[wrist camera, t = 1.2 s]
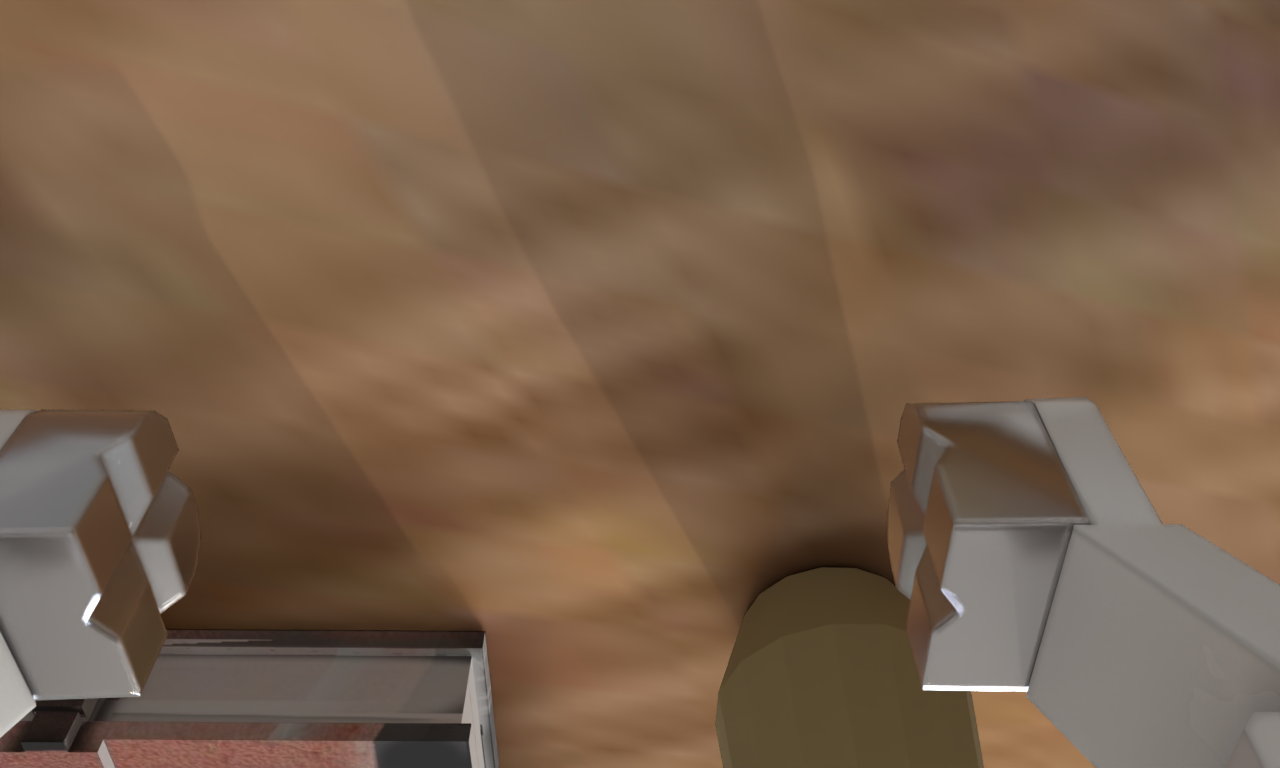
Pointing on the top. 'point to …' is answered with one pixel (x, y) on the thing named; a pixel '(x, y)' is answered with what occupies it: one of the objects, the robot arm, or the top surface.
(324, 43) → the top surface
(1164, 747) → the robot arm
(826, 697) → the squeeze bottle
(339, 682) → the book
